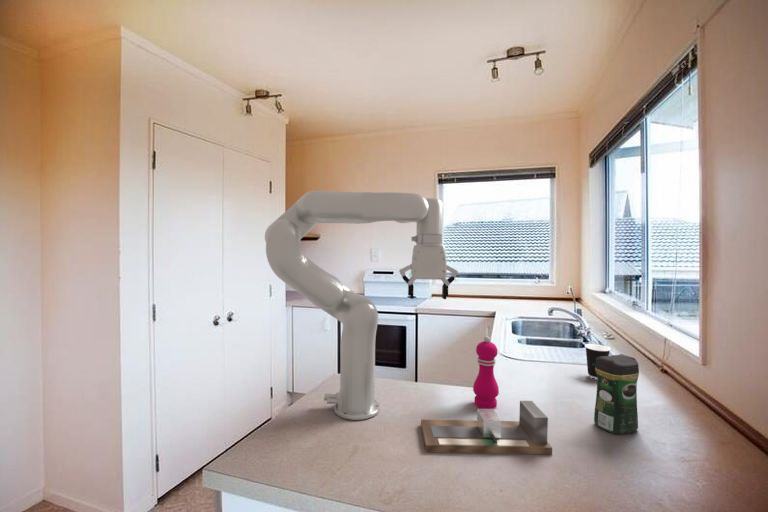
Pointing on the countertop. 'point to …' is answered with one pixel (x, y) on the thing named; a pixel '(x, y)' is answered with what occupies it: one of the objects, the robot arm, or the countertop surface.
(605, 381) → the coffee jar
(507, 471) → the countertop surface
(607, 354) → the dixie cup
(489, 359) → the pepper mill
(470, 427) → the base
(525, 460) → the countertop surface
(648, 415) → the countertop surface
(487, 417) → the gauge slider
